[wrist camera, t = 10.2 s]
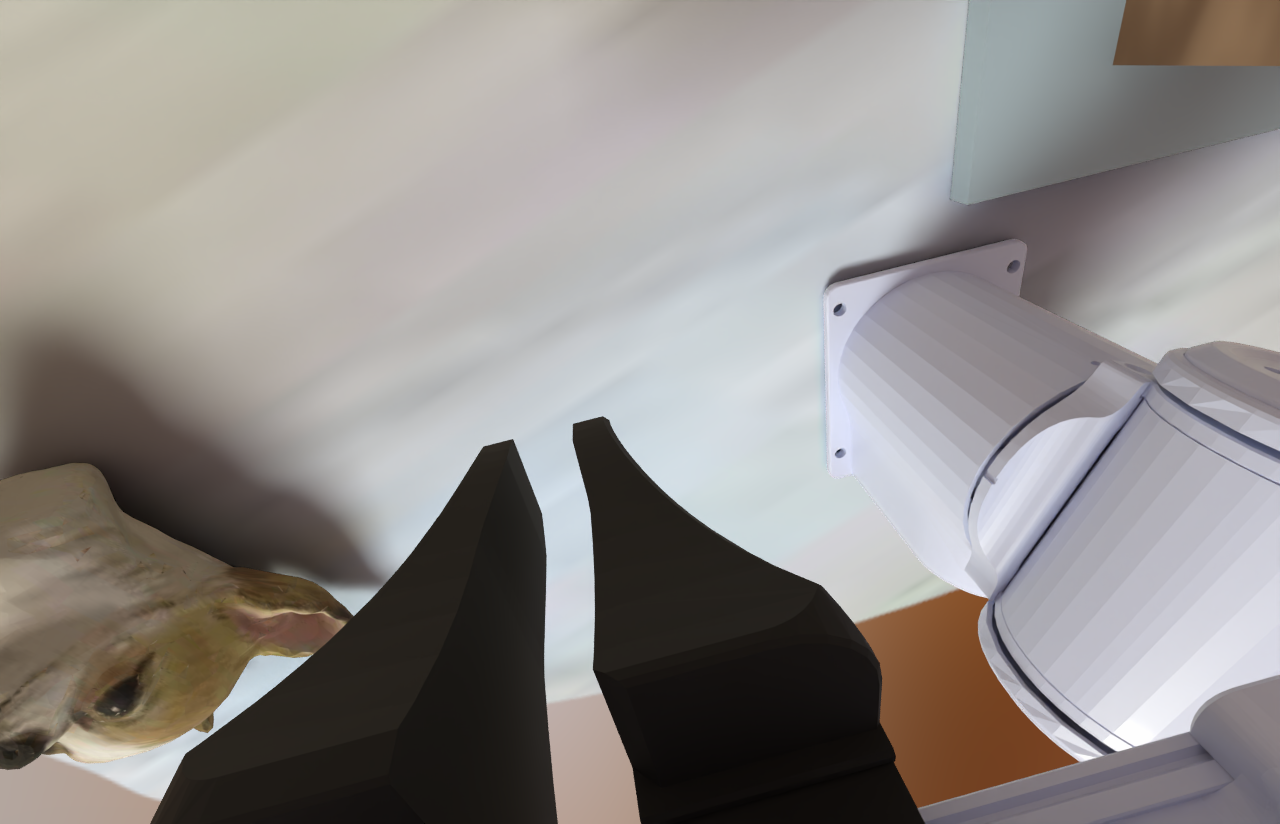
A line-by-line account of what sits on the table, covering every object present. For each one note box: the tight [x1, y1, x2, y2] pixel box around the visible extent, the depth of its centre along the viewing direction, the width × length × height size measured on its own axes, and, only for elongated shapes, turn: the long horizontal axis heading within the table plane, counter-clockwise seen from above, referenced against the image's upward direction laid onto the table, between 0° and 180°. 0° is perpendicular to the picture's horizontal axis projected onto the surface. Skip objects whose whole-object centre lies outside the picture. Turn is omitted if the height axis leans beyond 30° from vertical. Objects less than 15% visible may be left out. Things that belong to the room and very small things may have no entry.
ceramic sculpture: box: [0, 463, 354, 770], centre depth 21 cm, size 11×9×15 cm
